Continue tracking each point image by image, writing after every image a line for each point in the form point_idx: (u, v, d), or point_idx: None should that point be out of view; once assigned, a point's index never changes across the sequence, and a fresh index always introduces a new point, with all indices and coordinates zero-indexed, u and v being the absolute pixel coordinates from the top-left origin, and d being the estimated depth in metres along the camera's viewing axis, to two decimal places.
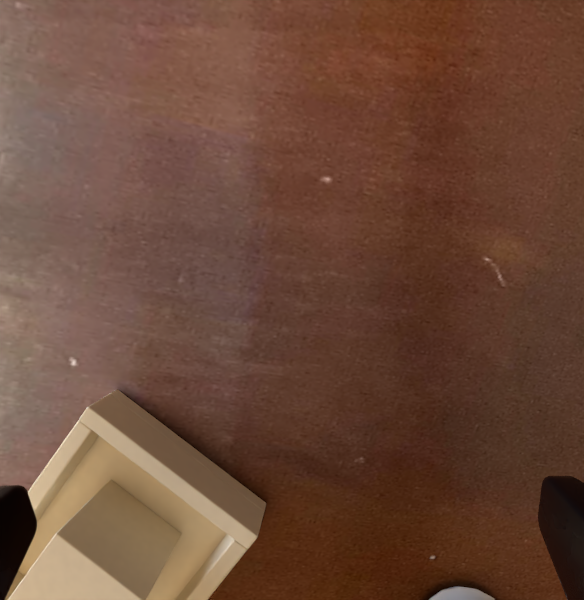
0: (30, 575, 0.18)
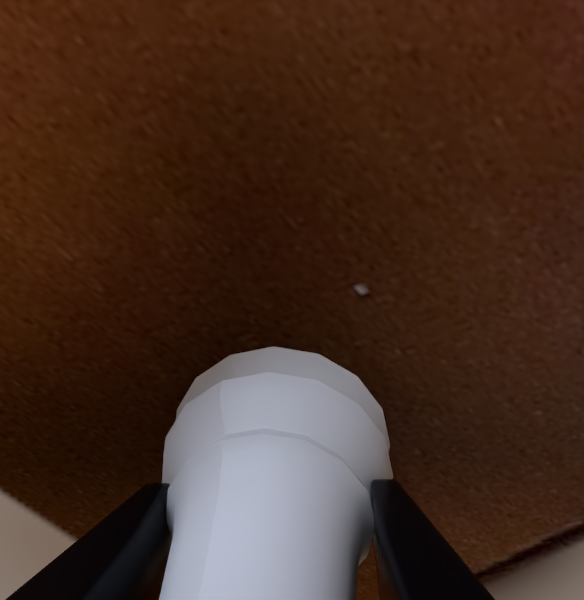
0: None
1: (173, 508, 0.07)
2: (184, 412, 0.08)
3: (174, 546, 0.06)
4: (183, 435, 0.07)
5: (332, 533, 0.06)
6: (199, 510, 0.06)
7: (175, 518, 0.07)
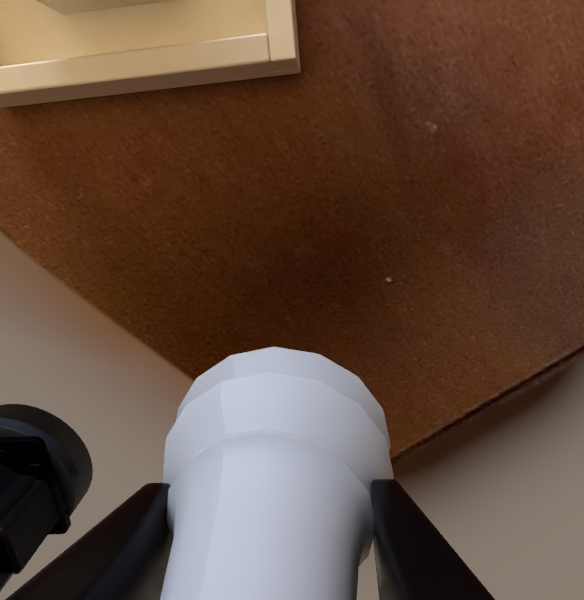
0: None
1: (174, 508, 0.07)
2: (185, 412, 0.08)
3: (175, 546, 0.06)
4: (184, 435, 0.07)
5: (333, 533, 0.06)
6: (199, 510, 0.06)
7: (176, 518, 0.07)
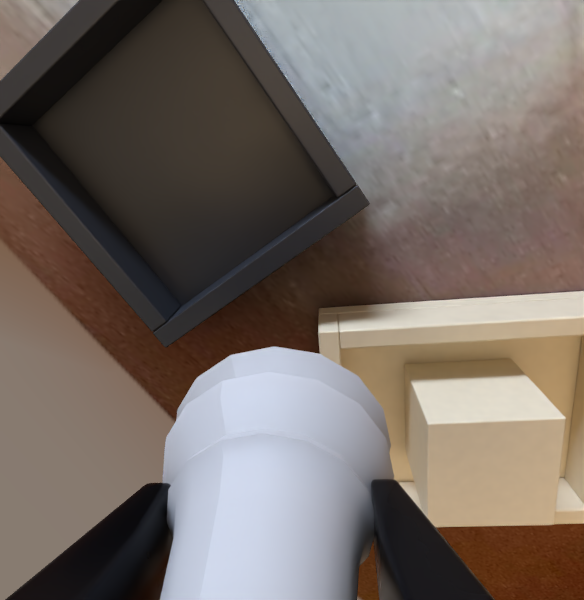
0: (497, 425, 0.15)
1: (174, 508, 0.07)
2: (185, 412, 0.08)
3: (174, 547, 0.06)
4: (185, 434, 0.07)
5: (333, 533, 0.06)
6: (198, 509, 0.06)
7: (176, 518, 0.07)
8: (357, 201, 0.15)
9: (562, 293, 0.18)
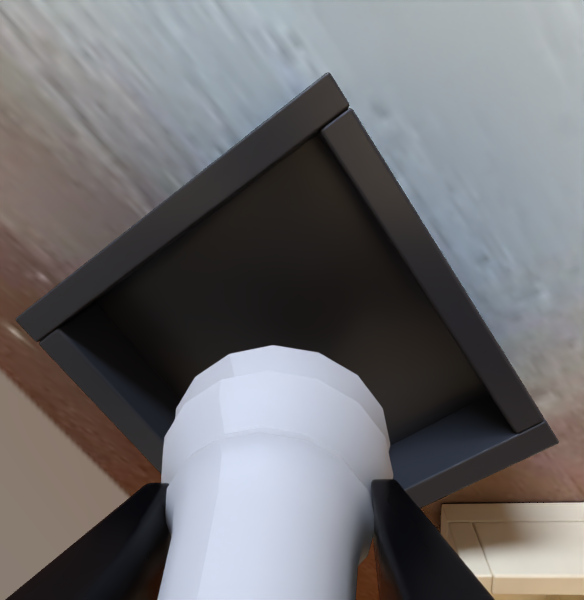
0: None
1: (172, 507, 0.07)
2: (183, 411, 0.08)
3: (172, 545, 0.06)
4: (183, 433, 0.07)
5: (332, 533, 0.06)
6: (197, 508, 0.06)
7: (174, 517, 0.07)
8: (543, 439, 0.11)
9: None
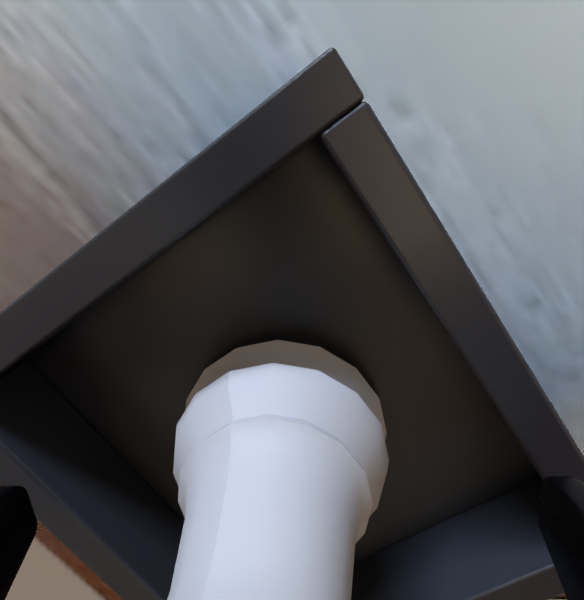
0: None
1: (185, 488, 0.08)
2: (194, 400, 0.08)
3: (187, 519, 0.07)
4: (195, 420, 0.08)
5: (332, 507, 0.06)
6: (209, 487, 0.07)
7: (188, 496, 0.07)
8: None
9: None
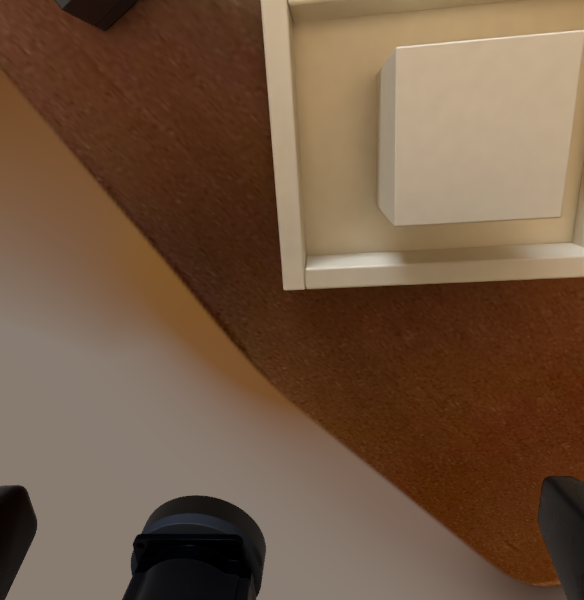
0: (491, 46, 0.11)
1: None
2: None
3: None
4: None
5: None
6: None
7: None
8: None
9: None
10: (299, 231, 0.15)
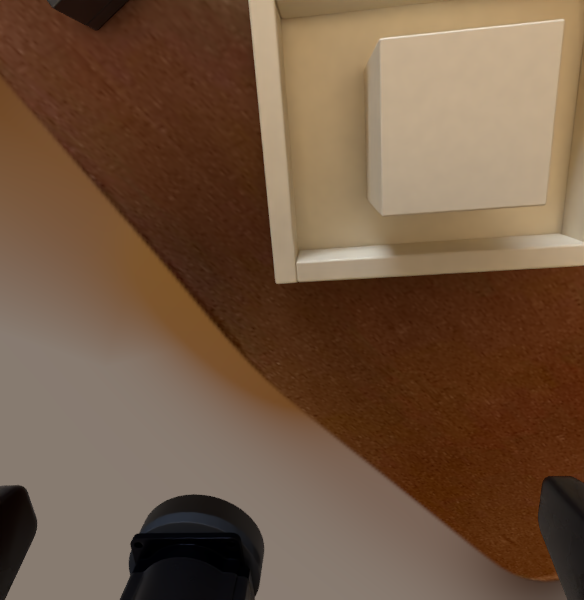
0: (472, 36, 0.11)
1: None
2: None
3: None
4: None
5: None
6: None
7: None
8: None
9: None
10: (290, 224, 0.15)
